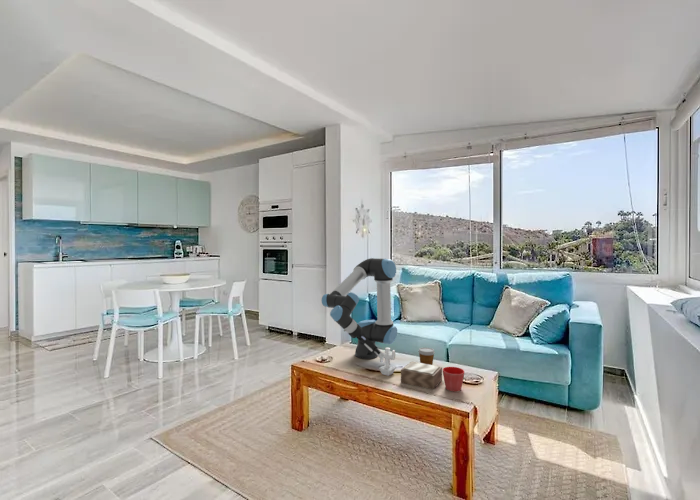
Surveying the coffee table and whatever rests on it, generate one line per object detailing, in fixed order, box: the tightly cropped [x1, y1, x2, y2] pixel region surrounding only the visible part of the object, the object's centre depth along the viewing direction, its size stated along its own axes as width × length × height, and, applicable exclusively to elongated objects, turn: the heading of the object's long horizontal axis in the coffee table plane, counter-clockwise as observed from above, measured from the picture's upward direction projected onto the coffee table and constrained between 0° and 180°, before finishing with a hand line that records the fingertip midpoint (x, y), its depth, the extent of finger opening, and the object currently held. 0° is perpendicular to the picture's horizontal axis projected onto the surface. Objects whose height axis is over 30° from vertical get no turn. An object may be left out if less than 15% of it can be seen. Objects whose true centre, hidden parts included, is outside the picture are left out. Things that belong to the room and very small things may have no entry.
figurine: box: [378, 347, 397, 376], centre depth 212 cm, size 7×9×15 cm
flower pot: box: [442, 366, 465, 393], centre depth 191 cm, size 11×11×10 cm
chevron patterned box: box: [400, 361, 443, 390], centre depth 201 cm, size 18×15×8 cm
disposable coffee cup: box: [418, 347, 436, 365], centre depth 219 cm, size 10×10×12 cm
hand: (377, 353), depth 208 cm, fingers open, 13 cm apart
